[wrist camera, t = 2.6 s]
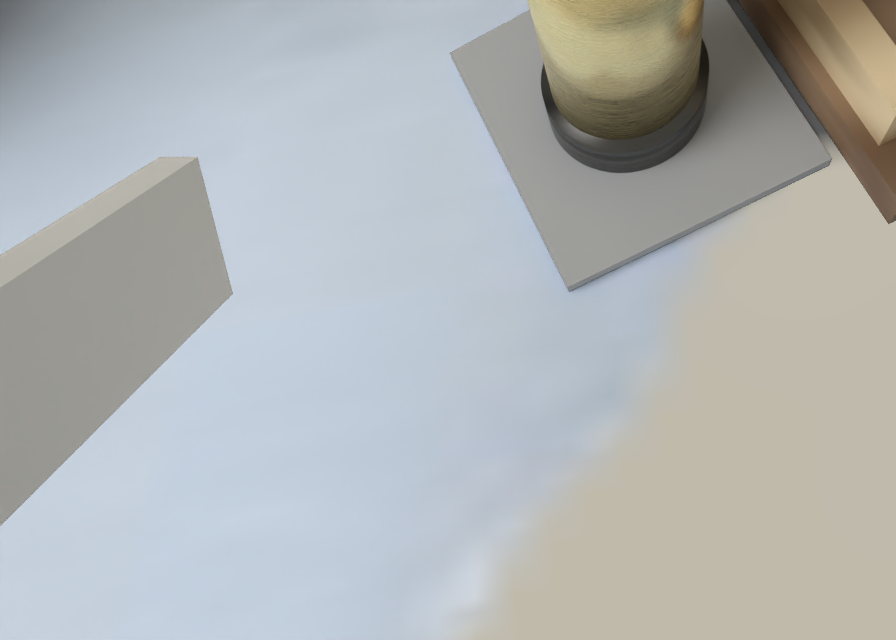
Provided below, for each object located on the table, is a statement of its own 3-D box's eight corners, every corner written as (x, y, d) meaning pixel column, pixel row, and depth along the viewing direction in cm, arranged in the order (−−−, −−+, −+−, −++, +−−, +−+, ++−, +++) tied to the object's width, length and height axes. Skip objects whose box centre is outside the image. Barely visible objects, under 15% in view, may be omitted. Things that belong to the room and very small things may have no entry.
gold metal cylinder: (524, 78, 28) (443, -181, 18) (660, 6, 28) (659, -305, 17) (588, 199, 27) (540, -10, 16) (736, 126, 26) (783, -141, 16)
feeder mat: (452, 60, 30) (449, 53, 29) (679, -61, 29) (679, -71, 28) (569, 291, 27) (567, 287, 26) (829, 165, 25) (832, 158, 25)
